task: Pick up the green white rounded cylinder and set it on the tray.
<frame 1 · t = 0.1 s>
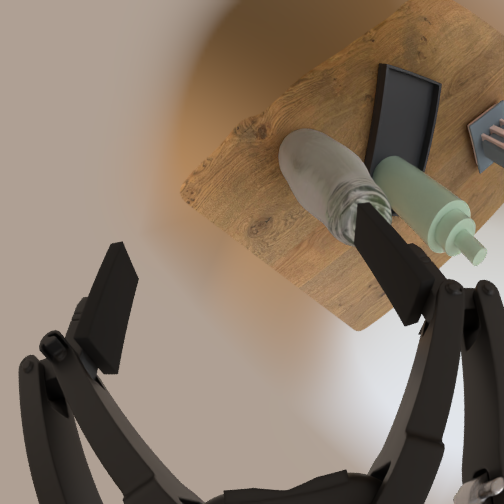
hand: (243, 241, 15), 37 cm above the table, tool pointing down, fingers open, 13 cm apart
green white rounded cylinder: (299, 149, 50), on the table
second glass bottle: (391, 177, 54), point 1 cm above the table, touching tray
desk lamp: (486, 133, 49), on the table
tray: (397, 143, 50), on the table
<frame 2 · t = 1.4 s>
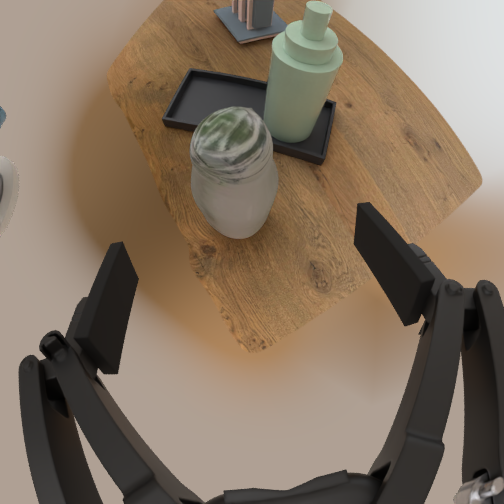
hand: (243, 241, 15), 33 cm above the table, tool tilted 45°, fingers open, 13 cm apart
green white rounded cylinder: (237, 215, 49), on the table
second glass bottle: (288, 121, 51), point 1 cm above the table, touching tray
desk lamp: (251, 25, 56), on the table
tray: (251, 113, 52), on the table
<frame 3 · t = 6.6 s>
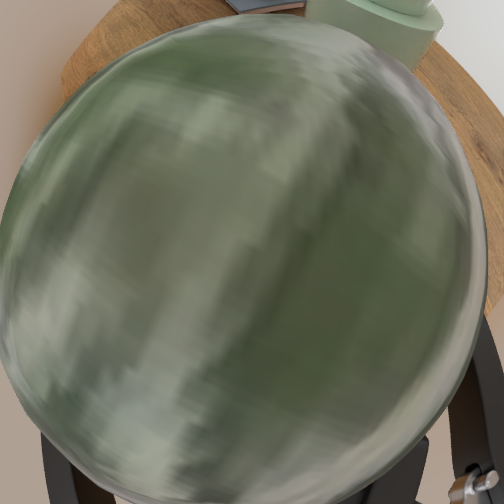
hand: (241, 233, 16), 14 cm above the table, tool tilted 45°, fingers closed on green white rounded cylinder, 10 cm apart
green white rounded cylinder: (250, 290, 29), on the table, touching gripper
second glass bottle: (326, 124, 31), point 1 cm above the table, touching tray
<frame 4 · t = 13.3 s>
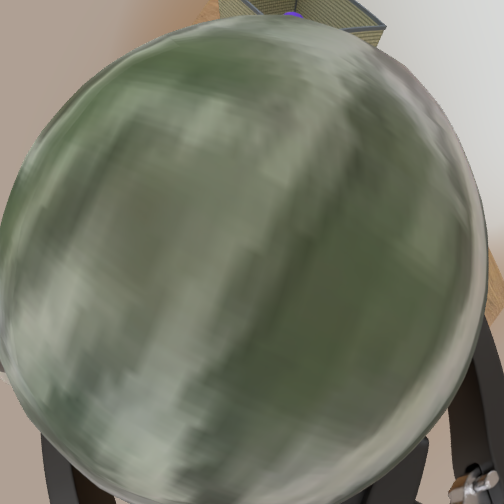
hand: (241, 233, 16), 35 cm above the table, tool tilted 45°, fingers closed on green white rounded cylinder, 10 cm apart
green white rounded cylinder: (250, 290, 29), point 21 cm above the table, touching gripper
desk lamp: (277, 125, 55), on the table
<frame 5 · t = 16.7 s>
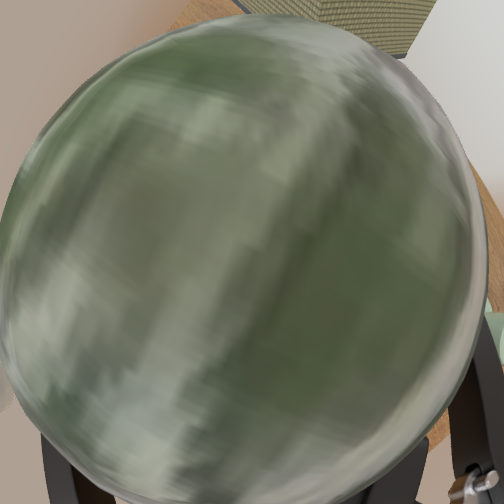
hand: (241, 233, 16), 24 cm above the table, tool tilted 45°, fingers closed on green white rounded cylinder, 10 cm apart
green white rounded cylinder: (250, 290, 29), point 10 cm above the table, touching gripper
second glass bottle: (357, 317, 38), point 1 cm above the table, touching tray
desk lamp: (291, 111, 44), on the table
when the fingers open (14 cm above the table, at t = 19.9 s): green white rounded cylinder stays where it is, resting on tray.
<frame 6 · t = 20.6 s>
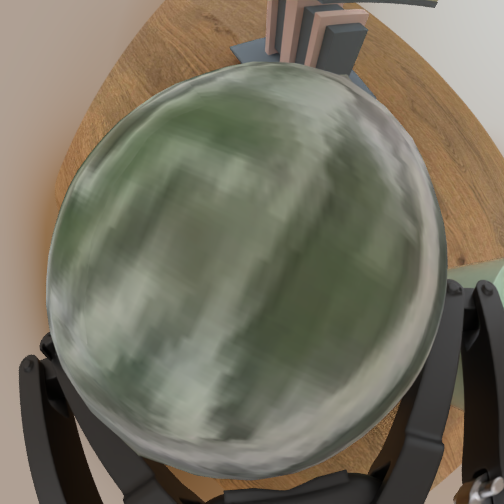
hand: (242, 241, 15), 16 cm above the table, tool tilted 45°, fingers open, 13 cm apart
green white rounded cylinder: (251, 290, 30), point 1 cm above the table, touching tray
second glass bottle: (384, 322, 29), point 1 cm above the table, touching hand, tray
desk lamp: (299, 79, 35), on the table
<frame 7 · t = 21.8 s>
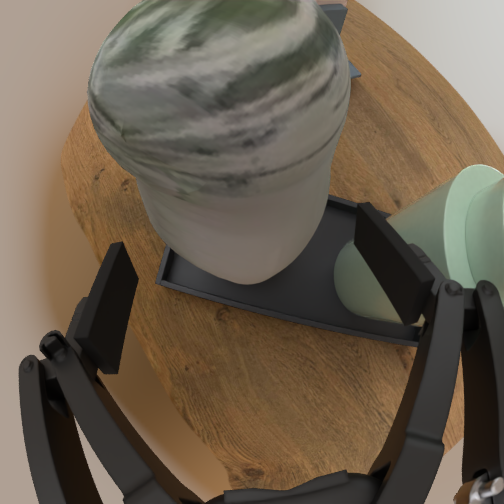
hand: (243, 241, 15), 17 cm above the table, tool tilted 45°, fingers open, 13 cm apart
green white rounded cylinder: (243, 241, 32), point 1 cm above the table, touching tray
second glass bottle: (373, 275, 31), point 1 cm above the table, touching tray
desk lamp: (290, 59, 37), on the table
tray: (311, 260, 32), on the table
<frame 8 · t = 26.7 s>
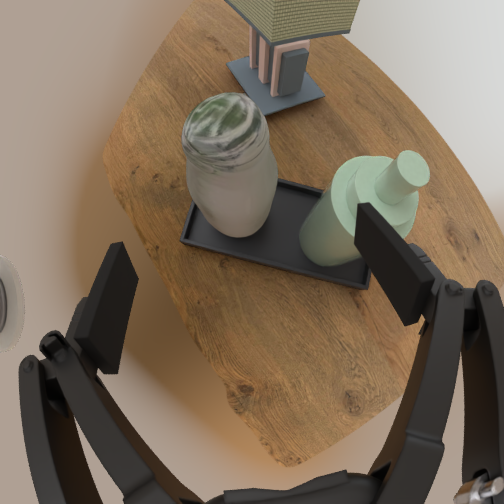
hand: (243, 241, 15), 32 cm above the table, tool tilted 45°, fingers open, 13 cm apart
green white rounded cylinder: (237, 214, 48), point 1 cm above the table, touching tray
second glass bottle: (328, 237, 47), point 1 cm above the table, touching tray
desk lamp: (273, 84, 53), on the table
tray: (284, 226, 48), on the table
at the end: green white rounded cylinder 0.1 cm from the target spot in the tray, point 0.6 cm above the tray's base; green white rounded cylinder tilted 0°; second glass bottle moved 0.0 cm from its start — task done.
